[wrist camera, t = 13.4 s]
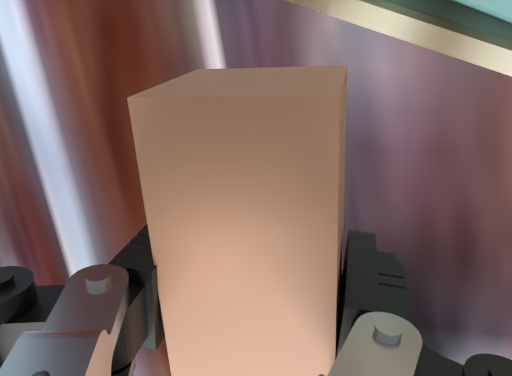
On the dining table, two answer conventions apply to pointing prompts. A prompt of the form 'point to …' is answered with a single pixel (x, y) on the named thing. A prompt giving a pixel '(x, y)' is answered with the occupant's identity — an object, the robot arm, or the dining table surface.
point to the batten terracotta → (246, 216)
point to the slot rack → (430, 27)
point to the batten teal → (490, 8)
